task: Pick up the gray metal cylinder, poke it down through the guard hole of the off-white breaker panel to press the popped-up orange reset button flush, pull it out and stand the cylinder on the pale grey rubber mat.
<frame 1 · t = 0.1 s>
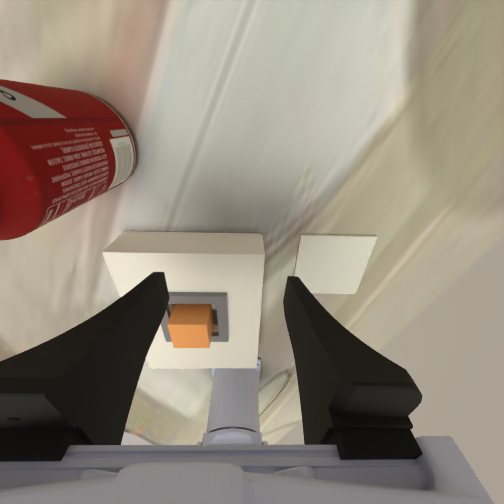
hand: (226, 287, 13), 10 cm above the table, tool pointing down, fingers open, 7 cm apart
breaker panel: (202, 296, 27), on the table
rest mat: (330, 265, 25), on the table
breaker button: (192, 323, 22), point 5 cm above the table, slide at 0.0 cm
soda can: (97, 142, 18), on the table
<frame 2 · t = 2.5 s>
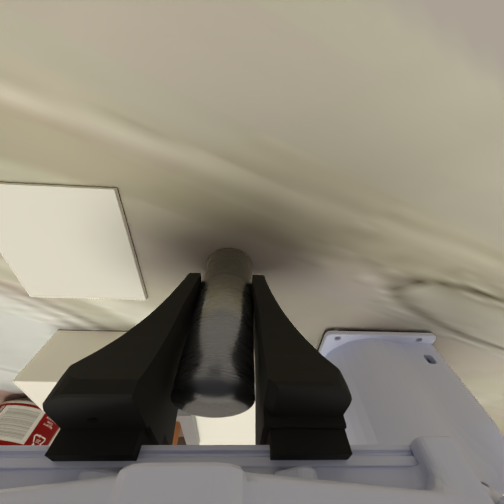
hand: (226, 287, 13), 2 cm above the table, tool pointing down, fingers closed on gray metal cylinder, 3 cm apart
gray metal cylinder: (229, 267, 14), on the table, touching gripper
breaker panel: (179, 377, 22), on the table
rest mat: (69, 248, 13), on the table
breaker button: (151, 439, 17), point 5 cm above the table, slide at 0.0 cm
soda can: (39, 405, 25), on the table
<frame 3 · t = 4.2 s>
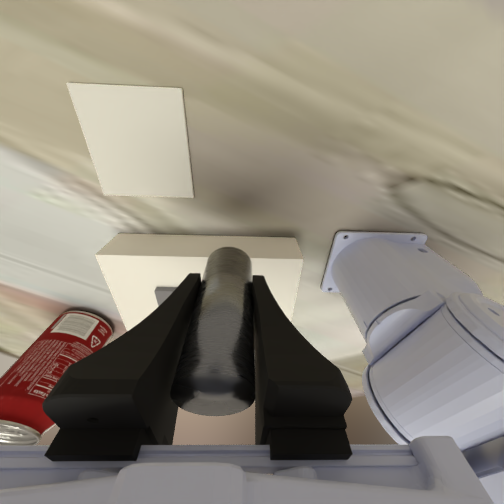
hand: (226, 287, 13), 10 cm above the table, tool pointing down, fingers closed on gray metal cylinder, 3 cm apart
gray metal cylinder: (229, 265, 14), point 8 cm above the table, touching gripper
breaker panel: (212, 287, 26), on the table
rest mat: (139, 147, 18), on the table
soda can: (89, 322, 29), on the table
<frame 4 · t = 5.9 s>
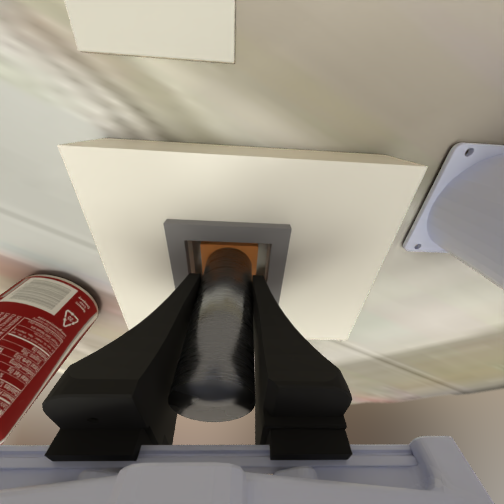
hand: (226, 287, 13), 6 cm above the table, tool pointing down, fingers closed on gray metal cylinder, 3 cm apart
gray metal cylinder: (229, 266, 14), point 4 cm above the table, touching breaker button, gripper
breaker panel: (245, 241, 18), on the table
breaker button: (230, 255, 16), point 2 cm above the table, slide at 2.7 cm, touching gray metal cylinder
soda can: (66, 296, 21), on the table
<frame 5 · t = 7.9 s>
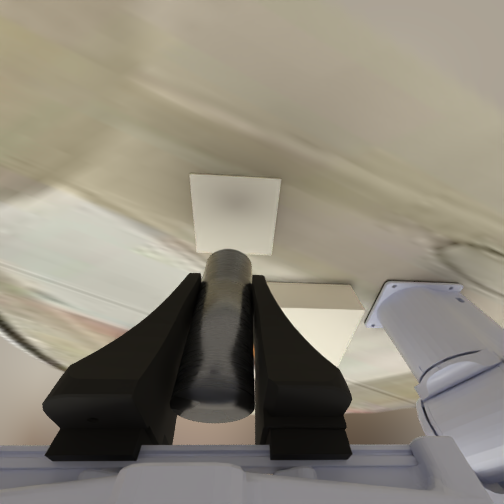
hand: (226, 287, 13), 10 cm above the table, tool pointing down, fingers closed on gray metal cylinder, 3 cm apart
gray metal cylinder: (229, 267, 14), point 8 cm above the table, touching gripper
breaker panel: (270, 321, 29), on the table
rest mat: (235, 217, 21), on the table
when the fingers open (3 cm above the table, at t = 9.5 s): gray metal cylinder drops 1 cm, resting on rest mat.
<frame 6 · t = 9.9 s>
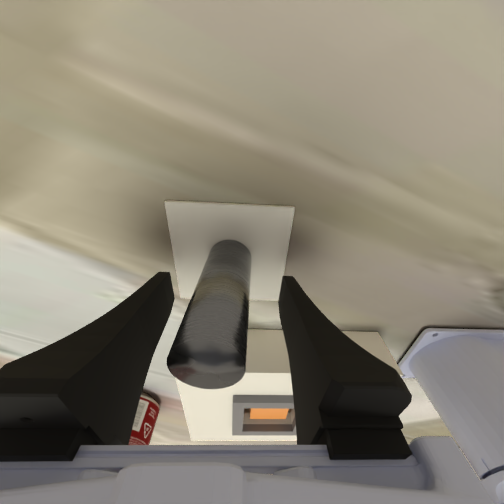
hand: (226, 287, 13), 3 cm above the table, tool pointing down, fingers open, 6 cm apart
gray metal cylinder: (230, 258, 15), resting on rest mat
breaker panel: (275, 370, 24), on the table
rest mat: (230, 256, 16), on the table
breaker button: (268, 393, 22), point 2 cm above the table, slide at 2.7 cm
soda can: (134, 397, 27), on the table
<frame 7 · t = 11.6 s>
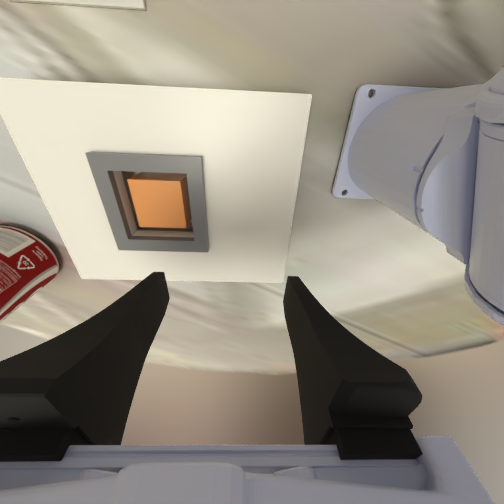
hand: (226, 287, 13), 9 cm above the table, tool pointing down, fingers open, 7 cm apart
breaker panel: (185, 190, 19), on the table
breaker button: (165, 198, 17), point 2 cm above the table, slide at 2.7 cm
soda can: (29, 251, 22), on the table
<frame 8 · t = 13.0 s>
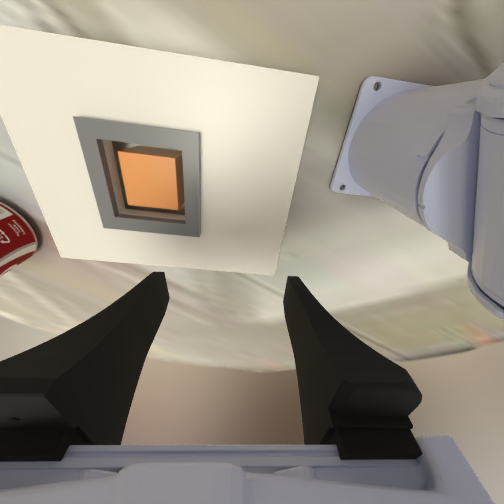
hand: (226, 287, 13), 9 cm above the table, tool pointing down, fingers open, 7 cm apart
breaker panel: (179, 172, 18), on the table
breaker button: (158, 177, 16), point 2 cm above the table, slide at 2.7 cm
soda can: (5, 225, 21), on the table
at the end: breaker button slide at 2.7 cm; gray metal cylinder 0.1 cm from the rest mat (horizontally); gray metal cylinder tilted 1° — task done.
